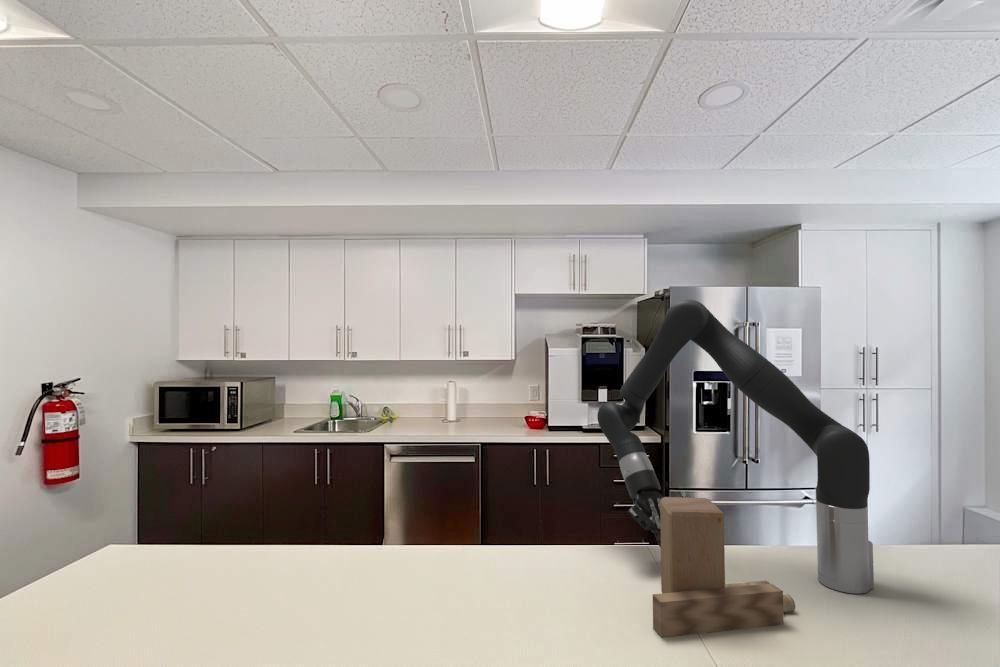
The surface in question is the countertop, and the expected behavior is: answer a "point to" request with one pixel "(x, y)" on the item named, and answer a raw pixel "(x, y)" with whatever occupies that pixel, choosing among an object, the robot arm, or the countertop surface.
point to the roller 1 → (746, 584)
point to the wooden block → (691, 545)
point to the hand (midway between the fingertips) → (666, 547)
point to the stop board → (717, 609)
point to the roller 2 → (788, 604)
